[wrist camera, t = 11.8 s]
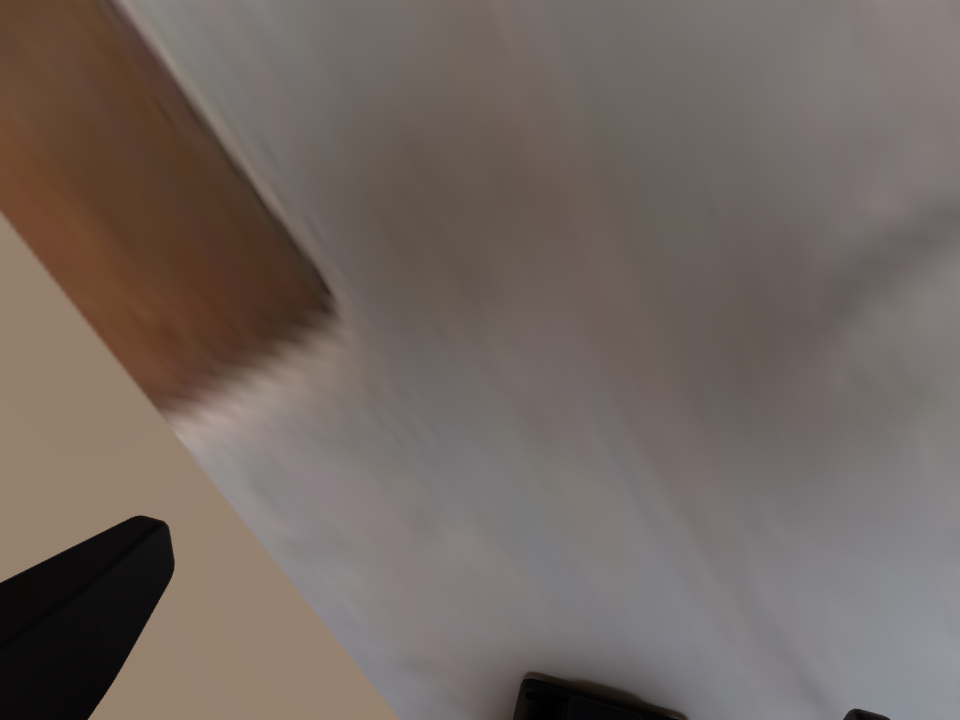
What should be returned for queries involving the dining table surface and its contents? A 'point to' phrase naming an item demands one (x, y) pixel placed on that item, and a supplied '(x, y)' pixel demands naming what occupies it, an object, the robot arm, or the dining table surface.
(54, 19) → the dining table surface
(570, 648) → the dining table surface
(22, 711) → the robot arm
